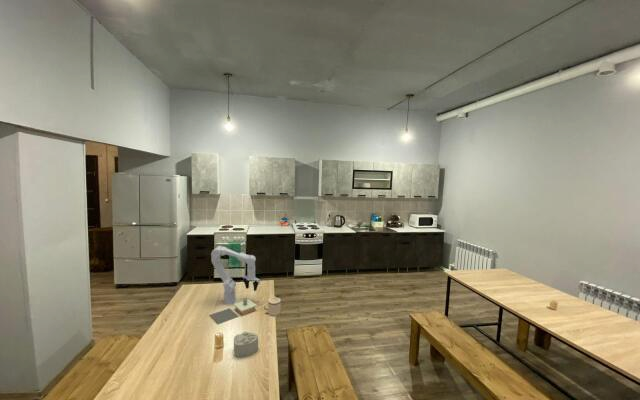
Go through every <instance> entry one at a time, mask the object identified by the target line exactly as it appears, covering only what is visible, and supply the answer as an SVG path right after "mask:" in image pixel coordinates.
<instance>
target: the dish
mask: <svg viewBox="0 0 640 400" xmlns="http://www.w3.org/2000/svg"><path fill="white" fill-rule="evenodd" d="M235 310H236V312H238V313H239V314H240V315H242V316H244V315H247V314H250V313H253V312H255V311H256V307H253V308H251V309H248V310H245V311H242V312H241V311H240V310H239V309H237V308H236V307H235Z"/></svg>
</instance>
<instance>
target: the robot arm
mask: <svg viewBox="0 0 640 400" xmlns="http://www.w3.org/2000/svg"><path fill="white" fill-rule="evenodd" d="M225 255H226V256H229V257H230V256H231V257H234V258H236V259H237V260H238V261H240V262H244V263H246V264H247V266H246V267H247V269H246V271H247V275H243V276H242V278H243V280H242V282H243V283H244V287H245V289H249V288H250V281H252V285H253V291H254V292H256V291H257V289H258V286H259V284H260V281H261V279H259V278H257V276H256V260H257V259H256V256H255V255H254V254H246V253H245V251H243V252H236V251H234V250H233V249H230V248H228V247H226V246H222V245H218V246H217V247H215V248H214V249H213V250H212V251H211V253H210V256H211V257H210V258H211V259H210V260H211V263H212V265H213V267H214V268H215V269H214V270H216V272H217V274H218V275H219V277H220V279H221V280H222V284H223V285H222V286H223V288H224V291H223V300H222V302H223V303H224V304H225V305H226V306H231V305H233V304H235V303H238V301H237V300H236V286H237V283H236V281H235V280H233V278H232V277H230V276H229V274H228V272H227V270H226V269H225V267H224V265H223V264H222V263H223V262H221V257H222V256H225Z"/></svg>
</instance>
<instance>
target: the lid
mask: <svg viewBox="0 0 640 400" xmlns="http://www.w3.org/2000/svg"><path fill="white" fill-rule="evenodd" d="M232 305H233V306H234V307H235V309H236V308H237V309H239V310H240V311H241V312H242V311H245V310H248V309H251V308H253V307H255V308H256V307H258V305H257V304H256V303H254V301H252V300H251V299H249V298H248V297H243V298H242V301H237V303H234V304H232Z"/></svg>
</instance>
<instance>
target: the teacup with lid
mask: <svg viewBox="0 0 640 400" xmlns="http://www.w3.org/2000/svg"><path fill="white" fill-rule="evenodd" d="M281 303H282V300H281V298H279V297H276V296H273V297H271V298H269V299H268V301H267V303H265V304H263V309H264V310H265V311H268V312H267V313H268V315H270V316H274V314H275V316H278V315H280V314H281V311H282V310H281V306H282V305H281ZM266 306H268V307H267V308H266Z"/></svg>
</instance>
